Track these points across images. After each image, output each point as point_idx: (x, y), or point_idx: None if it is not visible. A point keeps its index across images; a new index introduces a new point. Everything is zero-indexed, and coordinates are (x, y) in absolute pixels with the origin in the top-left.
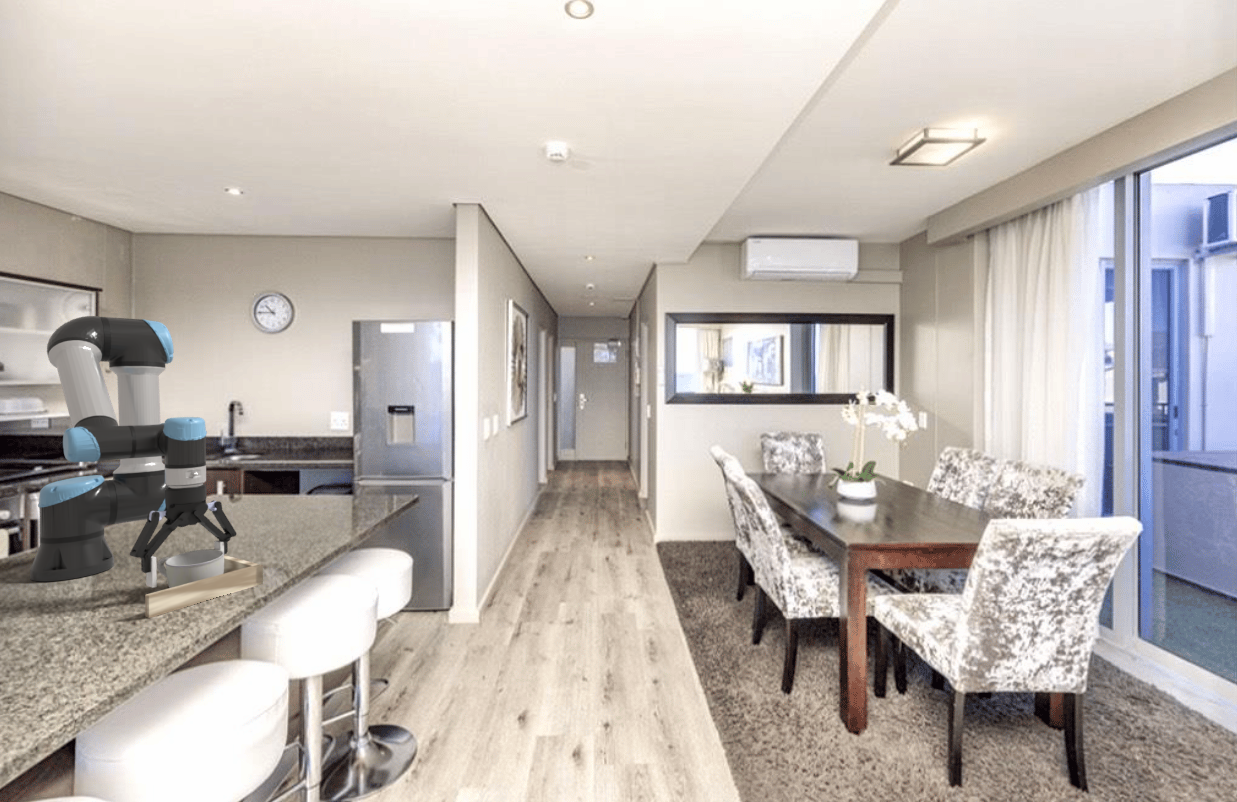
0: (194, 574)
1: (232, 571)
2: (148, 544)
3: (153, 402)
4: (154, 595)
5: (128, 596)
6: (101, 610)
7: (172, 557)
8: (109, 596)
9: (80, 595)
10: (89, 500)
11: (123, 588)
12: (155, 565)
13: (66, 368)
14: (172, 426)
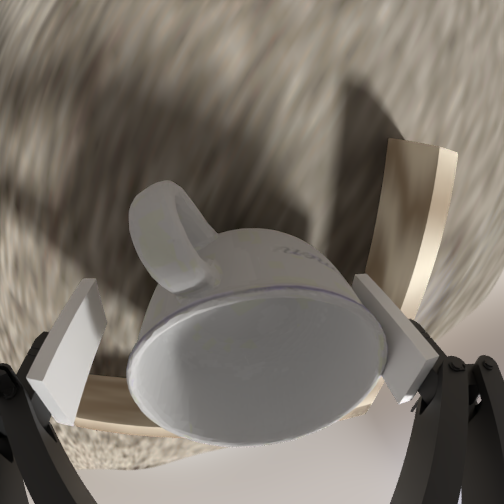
0: (206, 409)
1: None
2: (15, 449)
3: None
4: (87, 426)
5: (76, 154)
6: (8, 238)
7: (186, 317)
8: (47, 96)
9: (27, 17)
10: None
11: (113, 29)
12: (79, 392)
13: None
14: None
